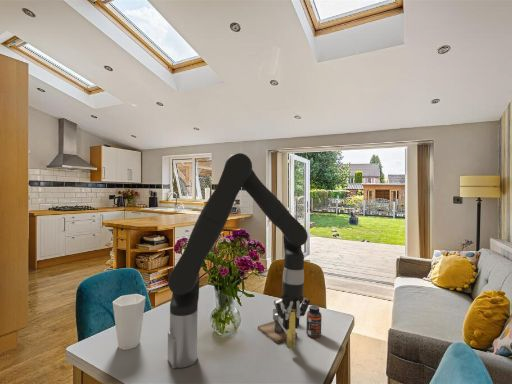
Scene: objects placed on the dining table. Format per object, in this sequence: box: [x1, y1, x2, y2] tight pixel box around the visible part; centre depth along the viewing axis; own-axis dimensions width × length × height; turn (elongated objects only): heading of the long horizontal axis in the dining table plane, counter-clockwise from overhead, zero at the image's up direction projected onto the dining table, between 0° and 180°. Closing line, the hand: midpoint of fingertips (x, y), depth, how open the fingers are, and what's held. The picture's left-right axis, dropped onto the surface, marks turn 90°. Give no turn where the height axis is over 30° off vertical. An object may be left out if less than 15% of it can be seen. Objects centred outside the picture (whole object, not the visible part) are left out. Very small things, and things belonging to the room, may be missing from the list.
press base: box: [257, 320, 298, 345], centre depth 113 cm, size 13×10×7 cm
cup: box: [112, 293, 146, 351], centre depth 103 cm, size 11×10×17 cm
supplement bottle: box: [306, 304, 323, 339], centre depth 112 cm, size 6×6×11 cm
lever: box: [272, 308, 296, 350], centre depth 106 cm, size 20×5×13 cm, turn 14°
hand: (290, 327), depth 98 cm, fingers closed on lever, 3 cm apart
